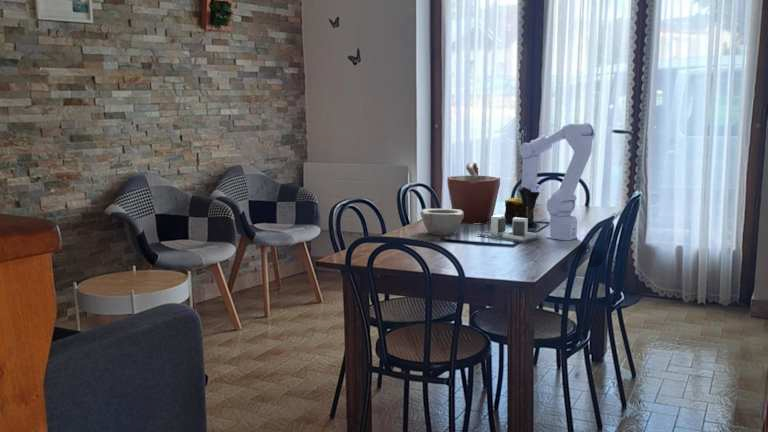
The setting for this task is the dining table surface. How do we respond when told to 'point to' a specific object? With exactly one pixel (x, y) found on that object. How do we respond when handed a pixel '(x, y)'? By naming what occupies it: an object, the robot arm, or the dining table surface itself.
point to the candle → (517, 210)
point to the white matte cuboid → (519, 226)
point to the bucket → (474, 195)
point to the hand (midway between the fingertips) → (528, 207)
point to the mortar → (442, 220)
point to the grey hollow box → (500, 226)
